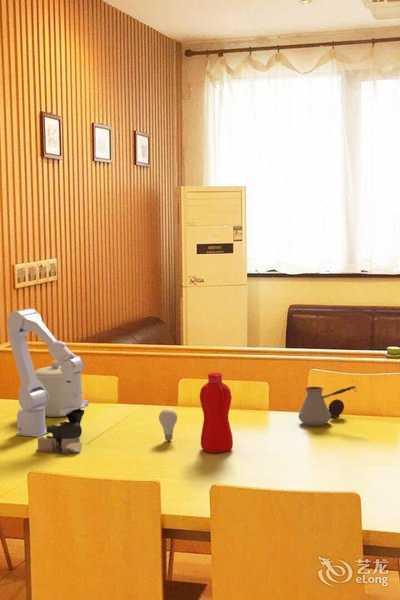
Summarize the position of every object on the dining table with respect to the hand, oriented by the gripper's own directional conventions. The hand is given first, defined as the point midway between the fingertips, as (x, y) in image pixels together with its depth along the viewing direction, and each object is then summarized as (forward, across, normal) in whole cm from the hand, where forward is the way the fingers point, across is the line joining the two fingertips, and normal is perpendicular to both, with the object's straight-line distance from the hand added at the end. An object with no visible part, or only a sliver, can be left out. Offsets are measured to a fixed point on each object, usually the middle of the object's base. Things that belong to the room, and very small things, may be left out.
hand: (75, 431), depth 276 cm
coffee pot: (+3, +45, -76) cm, 88 cm away
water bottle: (+3, +4, -52) cm, 52 cm away
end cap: (+3, -7, 0) cm, 7 cm away
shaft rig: (+2, -15, -4) cm, 15 cm away
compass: (+3, +57, -73) cm, 93 cm away
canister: (+3, +26, +26) cm, 37 cm away
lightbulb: (+3, +8, -32) cm, 33 cm away
